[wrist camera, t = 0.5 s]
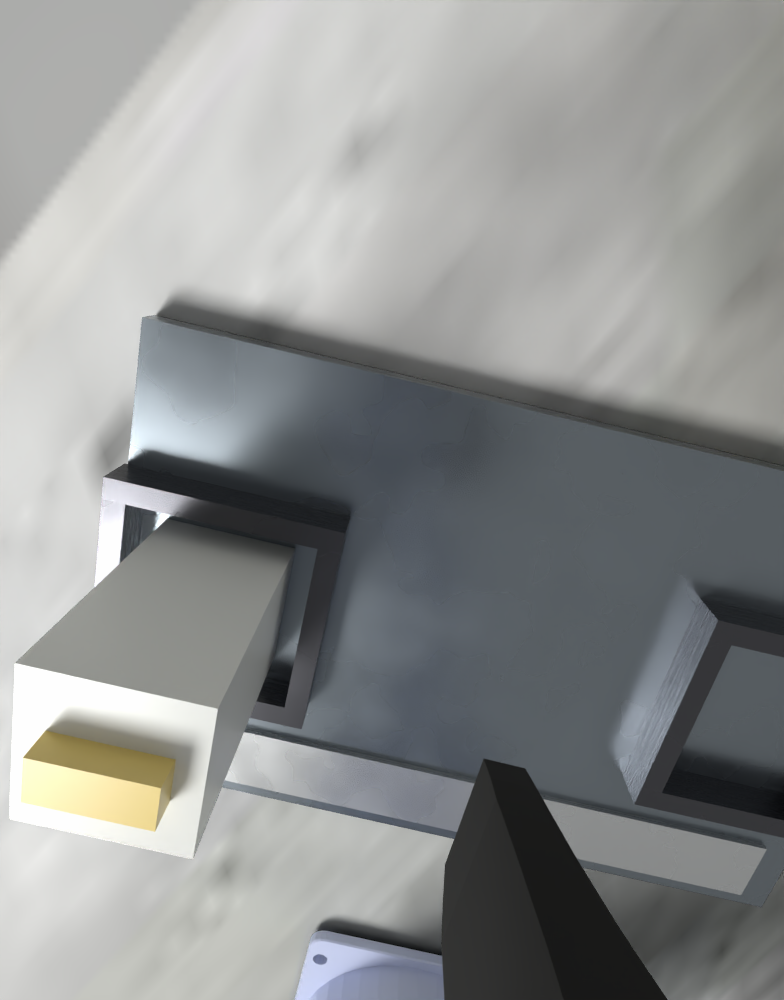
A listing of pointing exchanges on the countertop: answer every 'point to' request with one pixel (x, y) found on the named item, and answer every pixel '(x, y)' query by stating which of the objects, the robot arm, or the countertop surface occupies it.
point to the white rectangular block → (148, 690)
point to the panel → (483, 602)
